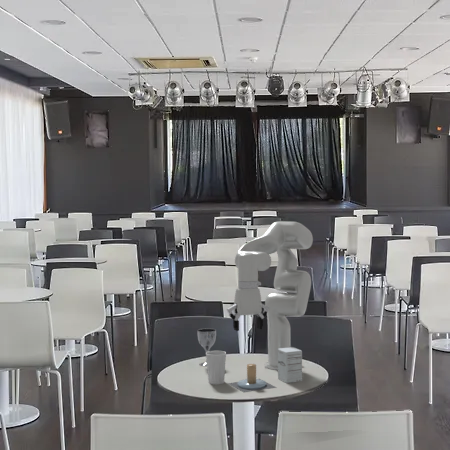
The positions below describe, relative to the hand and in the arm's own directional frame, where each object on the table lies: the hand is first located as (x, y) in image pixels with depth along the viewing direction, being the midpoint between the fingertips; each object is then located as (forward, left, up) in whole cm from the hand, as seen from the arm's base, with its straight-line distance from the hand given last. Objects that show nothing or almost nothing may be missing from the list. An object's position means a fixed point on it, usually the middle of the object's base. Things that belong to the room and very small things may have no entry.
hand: (248, 329), depth 300 cm
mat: (-1, +1, -22) cm, 22 cm away
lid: (-1, +1, -22) cm, 22 cm away
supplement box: (-18, +1, -22) cm, 28 cm away
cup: (+9, -10, -22) cm, 26 cm away
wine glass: (0, -39, -22) cm, 45 cm away
